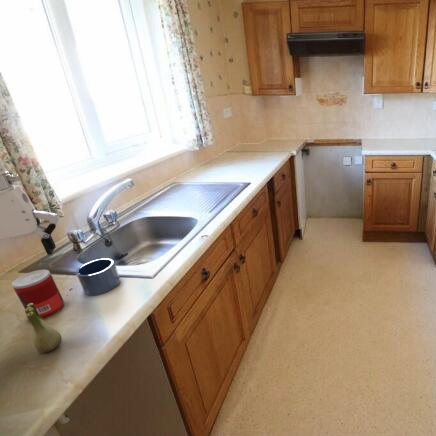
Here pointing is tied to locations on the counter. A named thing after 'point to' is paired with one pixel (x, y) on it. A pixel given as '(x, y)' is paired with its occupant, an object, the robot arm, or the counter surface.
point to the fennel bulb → (42, 331)
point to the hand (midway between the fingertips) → (24, 258)
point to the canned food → (39, 292)
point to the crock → (98, 276)
